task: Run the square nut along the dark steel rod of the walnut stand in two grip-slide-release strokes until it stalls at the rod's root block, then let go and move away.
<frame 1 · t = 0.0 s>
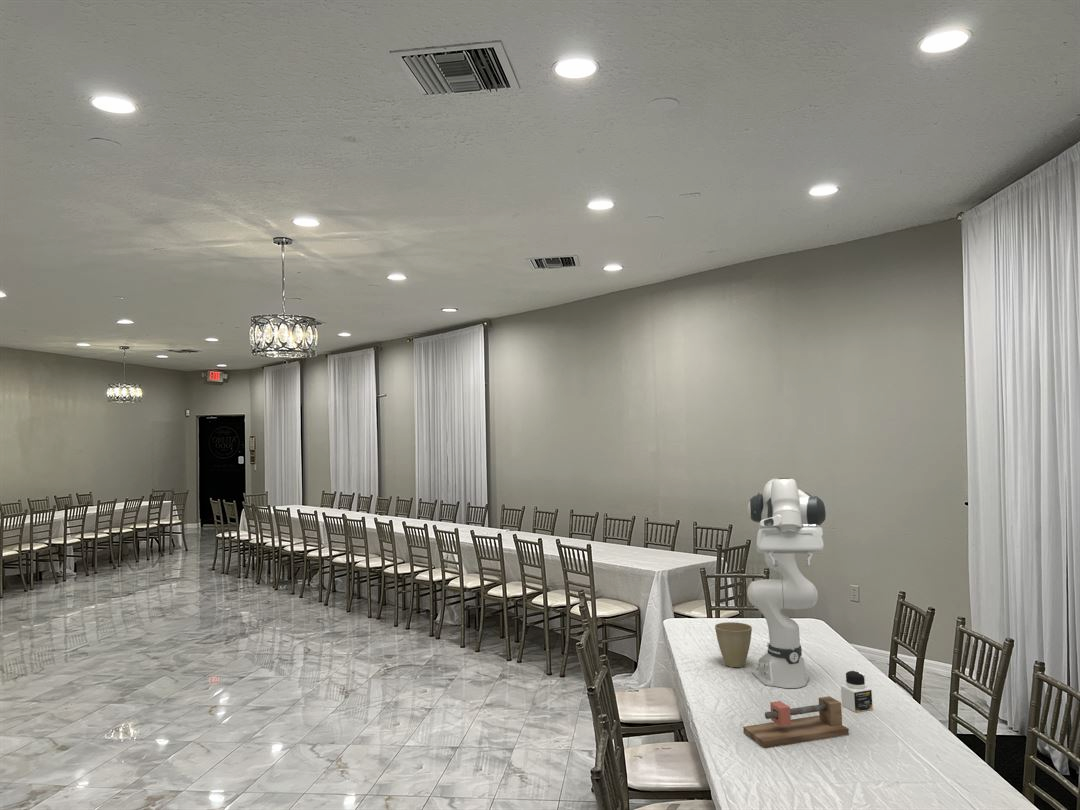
hand: (791, 566, 222), 54 cm above the table, tool tilted 30°, fingers open, 8 cm apart
medicine bottle: (857, 708, 247), on the table
rod stand: (795, 733, 227), on the table
plant pot: (735, 665, 296), on the table
square nut: (780, 713, 227), point 7 cm above the table, slide at 0.0 cm
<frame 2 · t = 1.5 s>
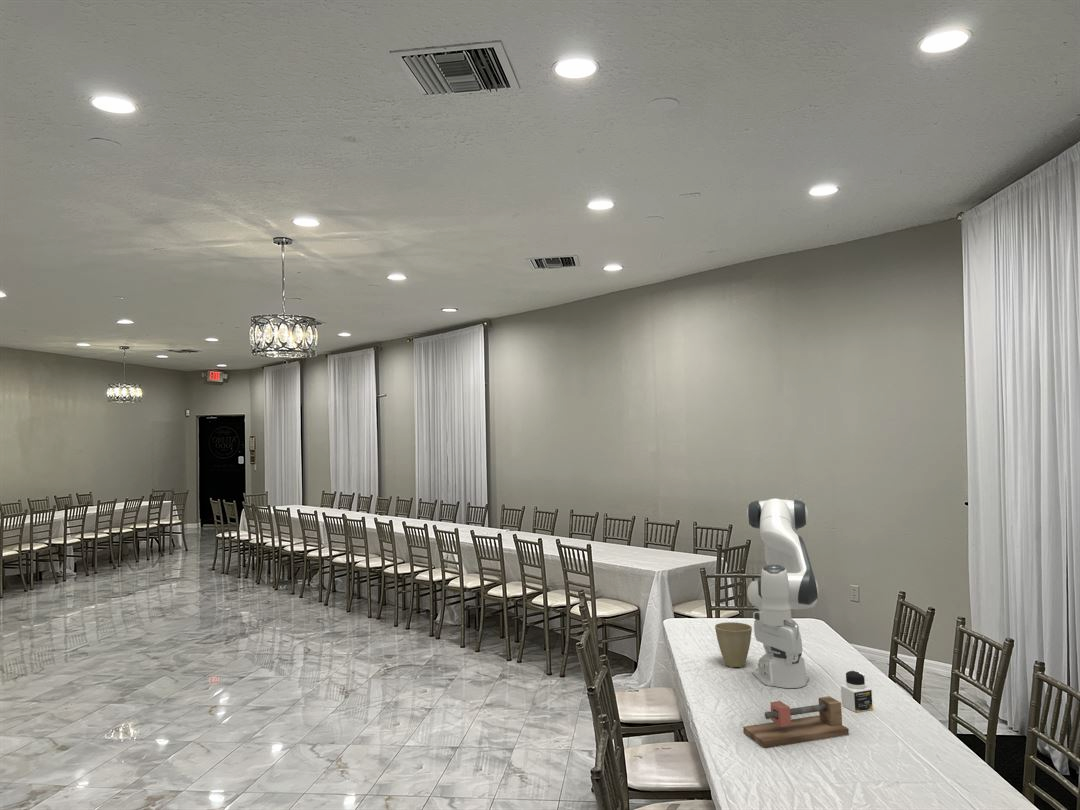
hand: (779, 662, 226), 23 cm above the table, tool pointing down, fingers open, 8 cm apart
nothing on the table moved.
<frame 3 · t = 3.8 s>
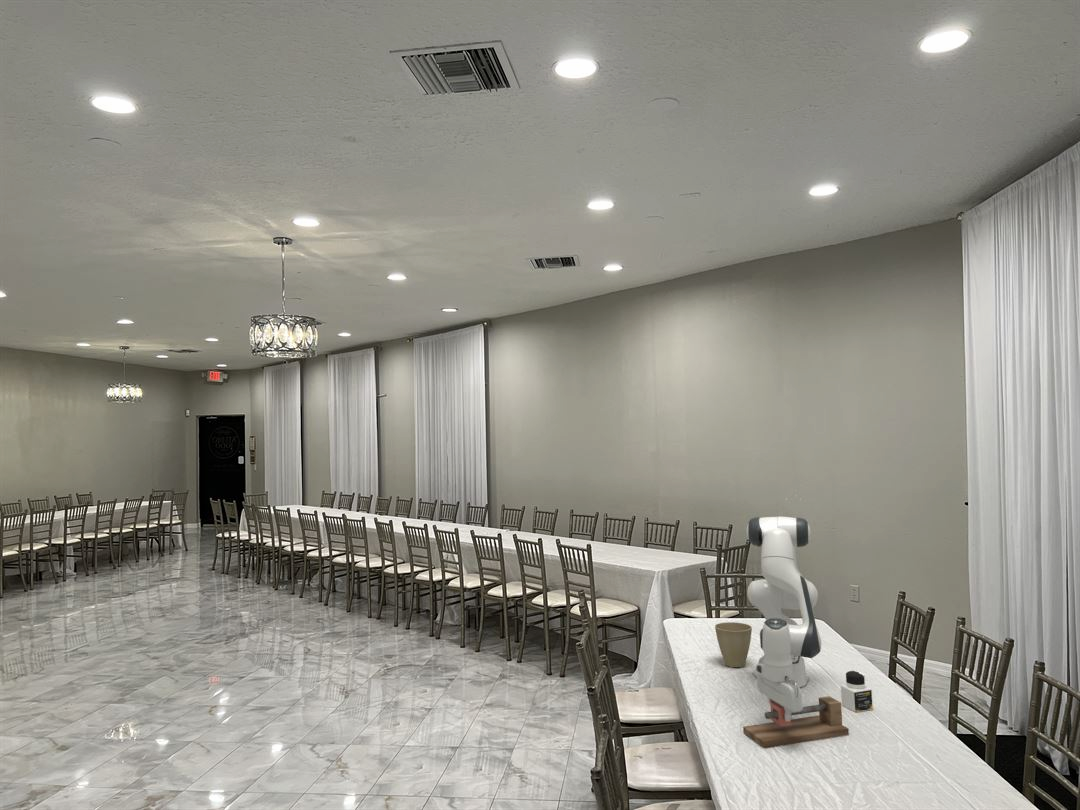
hand: (780, 716, 227), 6 cm above the table, tool pointing down, fingers closed on square nut, 6 cm apart
square nut: (780, 713, 227), point 7 cm above the table, slide at 0.0 cm, touching gripper
everything else where it was.
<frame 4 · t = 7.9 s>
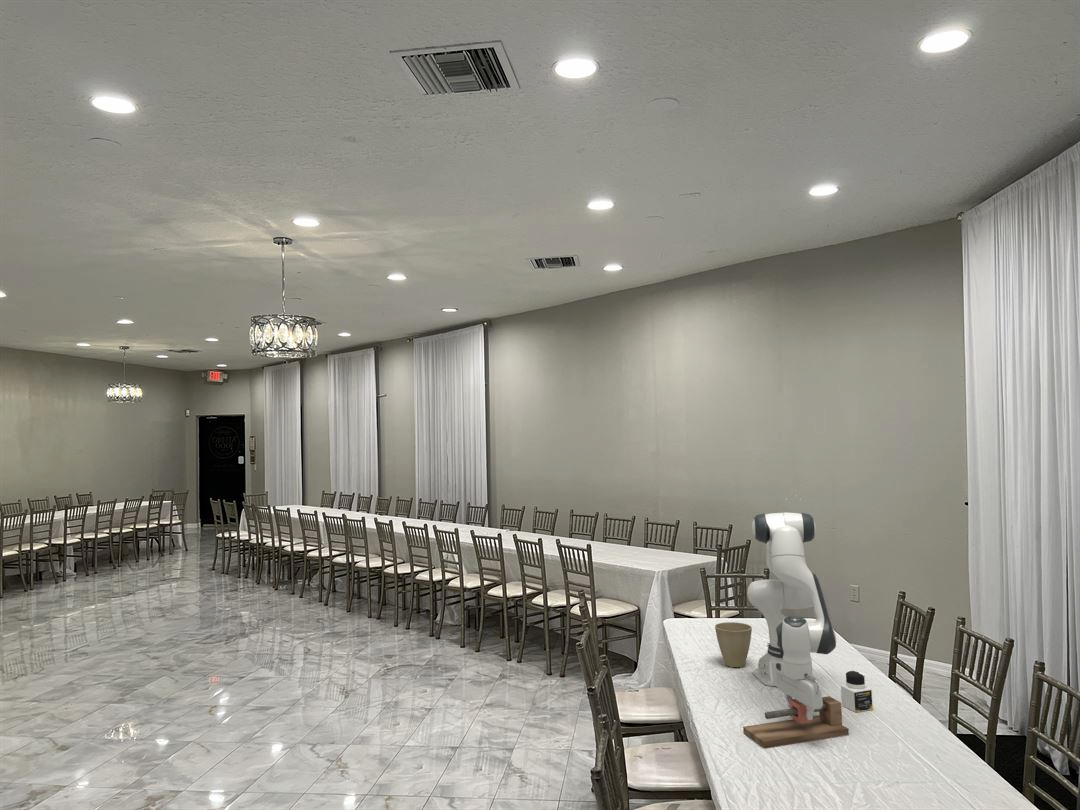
hand: (800, 713, 228), 6 cm above the table, tool pointing down, fingers open, 8 cm apart
square nut: (799, 710, 228), point 7 cm above the table, slide at 7.0 cm
everything else where it was.
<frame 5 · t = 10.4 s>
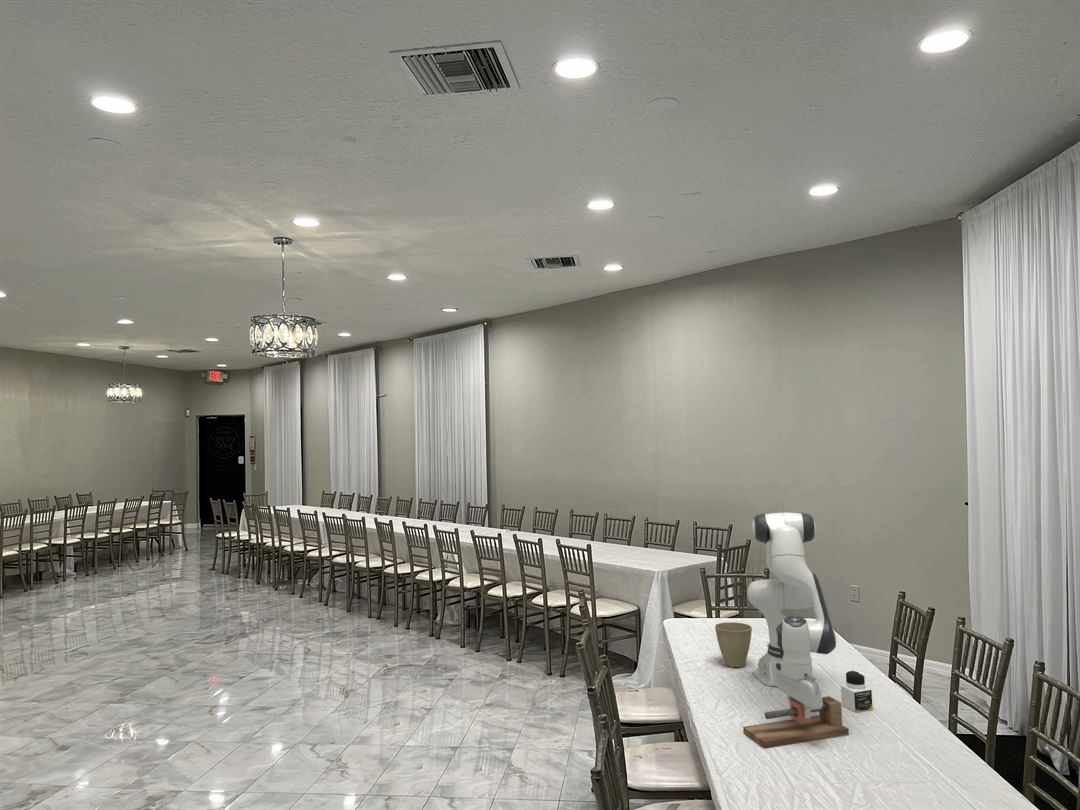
hand: (800, 713, 228), 6 cm above the table, tool pointing down, fingers closed on square nut, 6 cm apart
square nut: (799, 710, 228), point 7 cm above the table, slide at 6.9 cm, touching gripper
everything else where it was.
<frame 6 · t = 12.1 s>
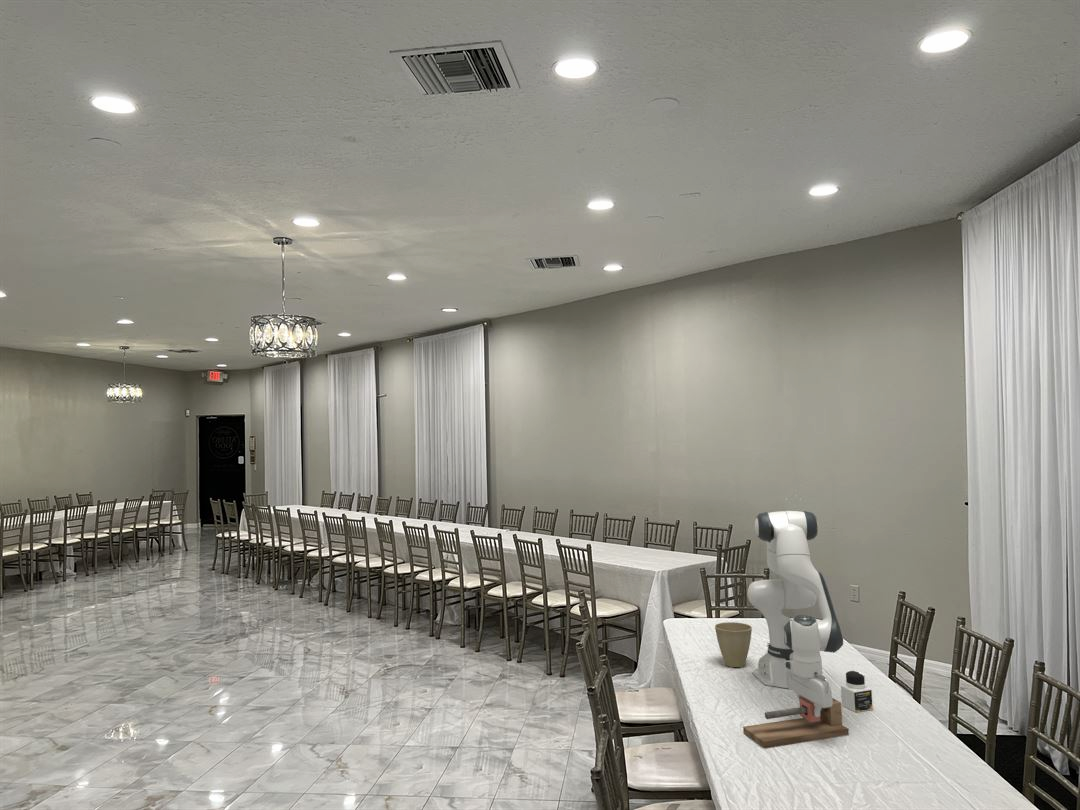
hand: (809, 712, 229), 6 cm above the table, tool pointing down, fingers closed on square nut, 6 cm apart
square nut: (809, 709, 229), point 7 cm above the table, slide at 10.5 cm, touching gripper
everything else where it was.
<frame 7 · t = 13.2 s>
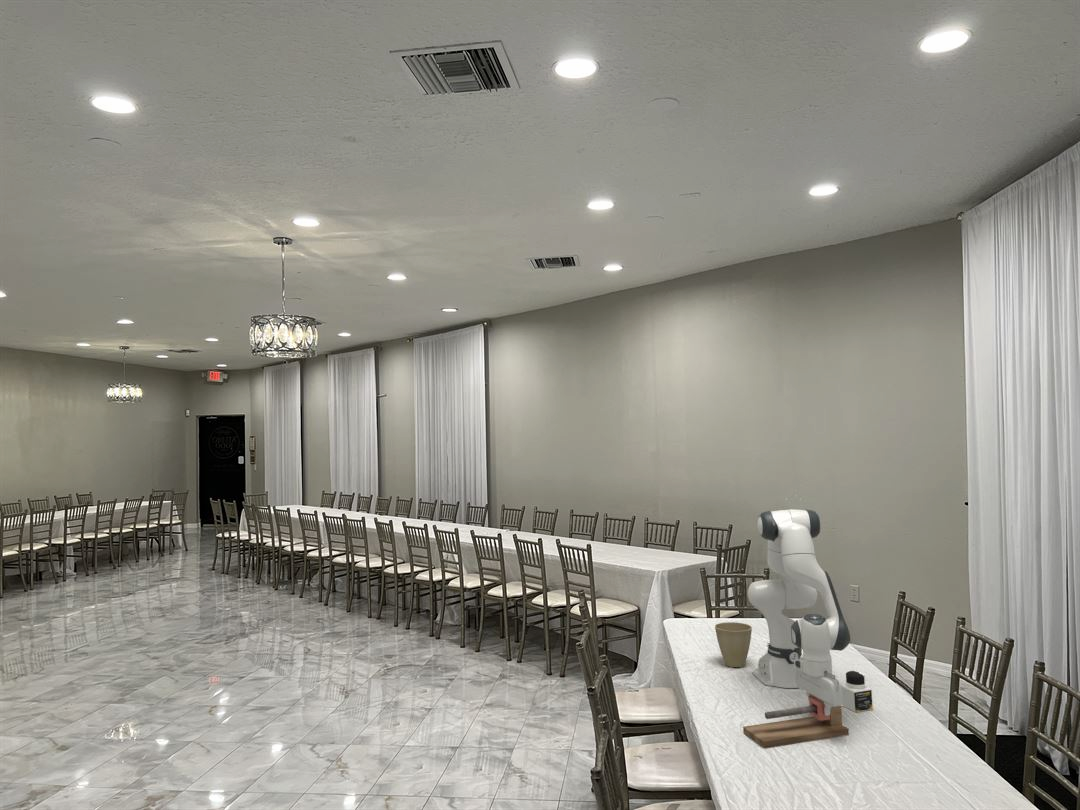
hand: (819, 710, 230), 6 cm above the table, tool pointing down, fingers closed on square nut, 6 cm apart
square nut: (819, 707, 230), point 7 cm above the table, slide at 14.1 cm, touching gripper
everything else where it was.
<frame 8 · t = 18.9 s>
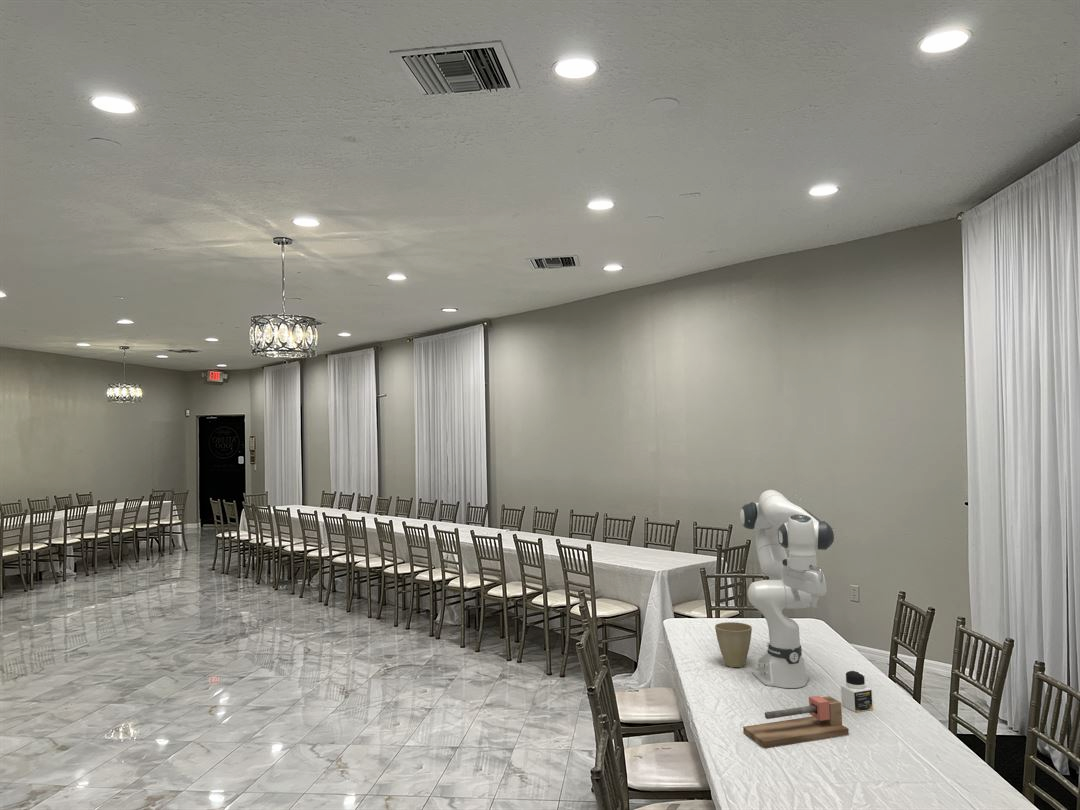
hand: (805, 603, 244), 37 cm above the table, tool pointing down, fingers open, 8 cm apart
square nut: (819, 707, 230), point 7 cm above the table, slide at 14.0 cm
everything else where it was.
at the end: square nut slide at 14.0 cm; the gripper is holding nothing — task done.
